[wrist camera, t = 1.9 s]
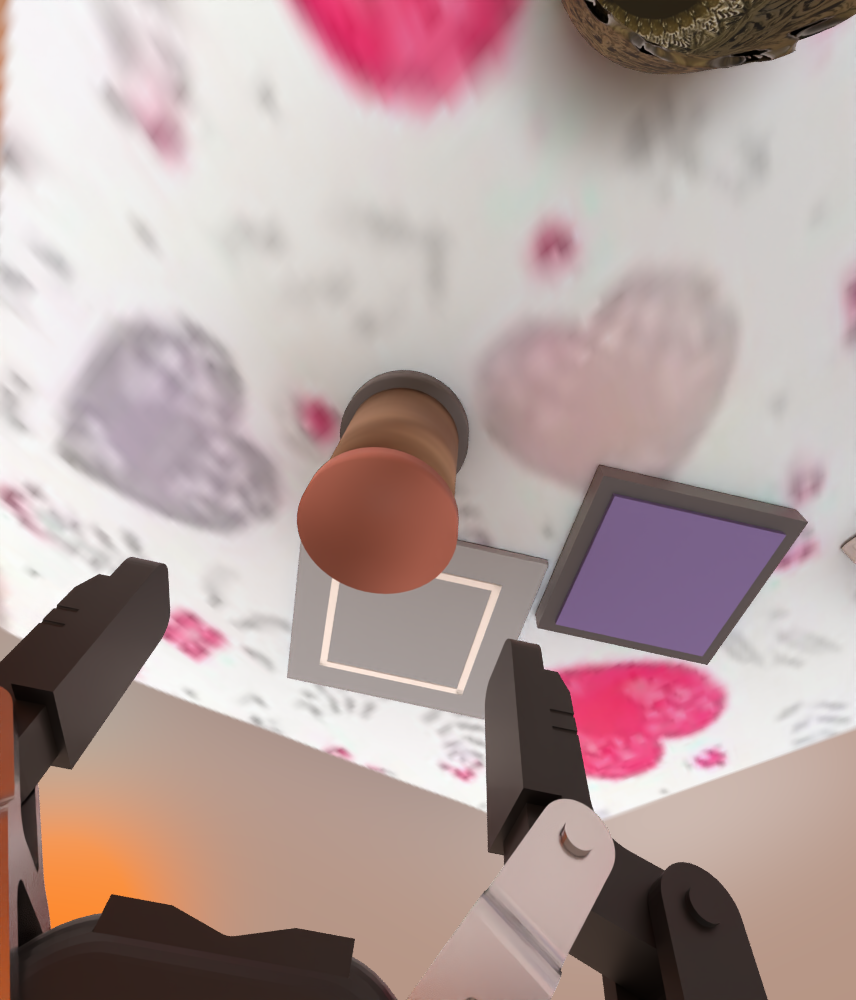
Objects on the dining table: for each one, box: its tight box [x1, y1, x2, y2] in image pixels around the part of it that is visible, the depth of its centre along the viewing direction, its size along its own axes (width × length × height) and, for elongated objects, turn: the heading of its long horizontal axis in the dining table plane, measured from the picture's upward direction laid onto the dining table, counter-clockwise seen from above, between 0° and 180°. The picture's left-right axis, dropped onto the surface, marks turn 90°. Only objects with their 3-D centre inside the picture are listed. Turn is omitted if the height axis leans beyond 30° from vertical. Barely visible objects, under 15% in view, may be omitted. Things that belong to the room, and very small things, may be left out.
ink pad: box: [535, 465, 808, 665], centre depth 25 cm, size 9×9×1 cm
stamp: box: [297, 370, 469, 594], centre depth 20 cm, size 5×5×8 cm
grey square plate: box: [287, 540, 548, 719], centre depth 28 cm, size 12×12×1 cm
